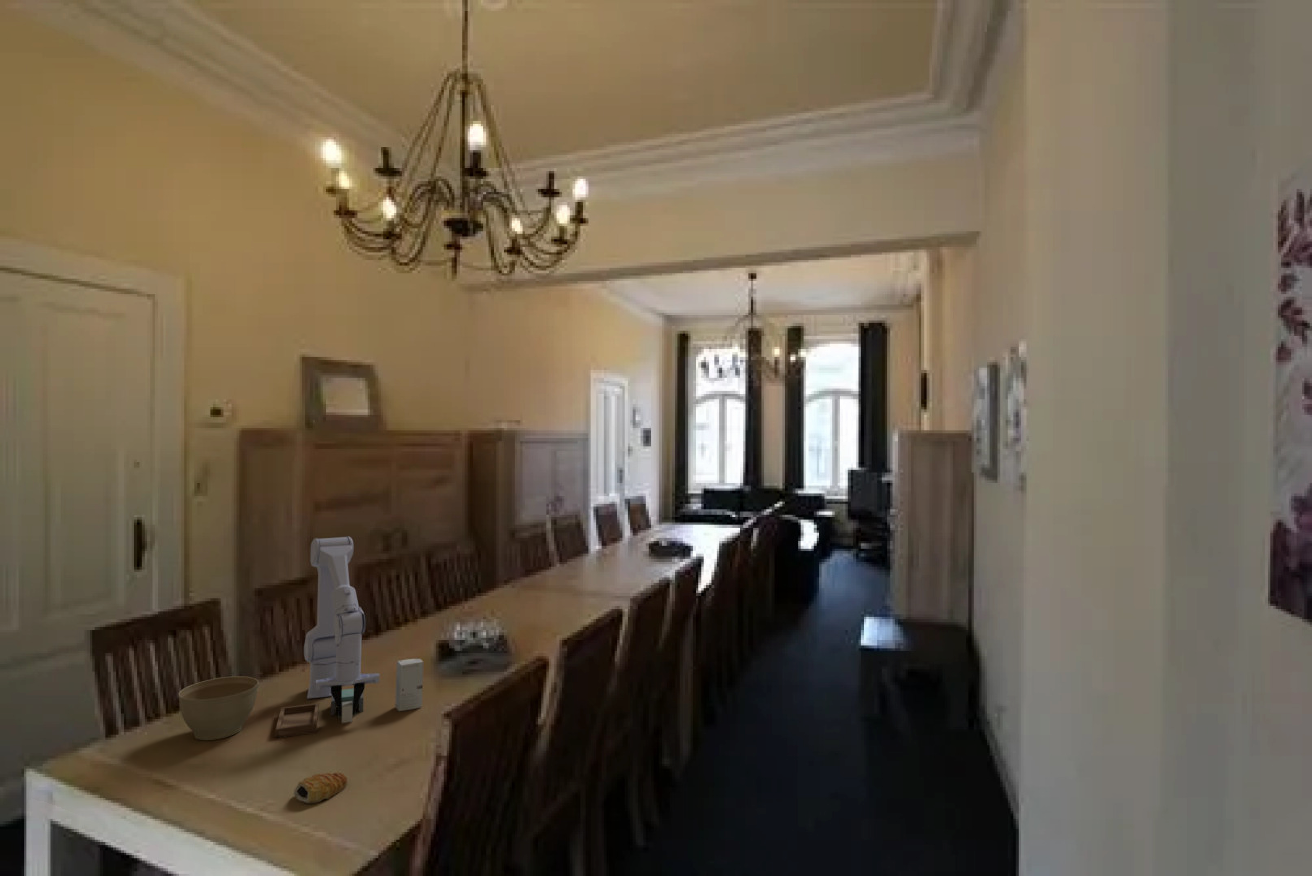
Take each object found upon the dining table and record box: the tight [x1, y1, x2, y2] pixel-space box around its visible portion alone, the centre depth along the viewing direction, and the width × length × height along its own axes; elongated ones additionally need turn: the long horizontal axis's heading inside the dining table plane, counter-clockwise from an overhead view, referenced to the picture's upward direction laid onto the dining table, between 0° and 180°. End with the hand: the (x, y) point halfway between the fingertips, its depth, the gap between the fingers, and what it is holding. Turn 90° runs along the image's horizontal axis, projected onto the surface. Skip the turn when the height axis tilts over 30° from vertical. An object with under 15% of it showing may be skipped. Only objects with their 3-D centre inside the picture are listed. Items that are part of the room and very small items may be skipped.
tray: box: [274, 702, 320, 739], centre depth 169 cm, size 15×9×2 cm, turn 24°
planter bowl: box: [178, 675, 259, 741], centre depth 163 cm, size 16×16×11 cm
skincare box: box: [394, 657, 425, 712], centre depth 181 cm, size 6×4×12 cm
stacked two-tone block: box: [337, 687, 357, 724], centre depth 175 cm, size 10×4×5 cm, turn 24°
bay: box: [330, 692, 364, 716], centre depth 179 cm, size 7×8×4 cm
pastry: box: [293, 772, 348, 804], centre depth 136 cm, size 9×7×4 cm
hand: (347, 714), depth 171 cm, fingers closed on stacked two-tone block, 2 cm apart
